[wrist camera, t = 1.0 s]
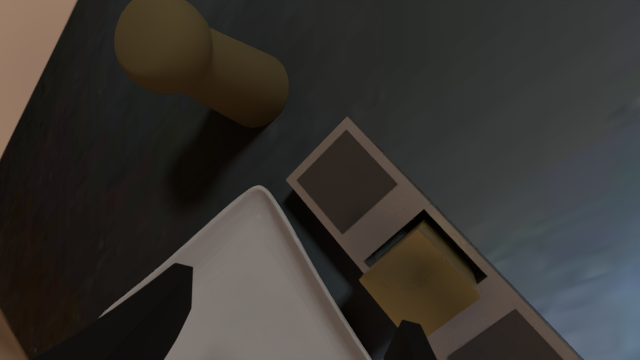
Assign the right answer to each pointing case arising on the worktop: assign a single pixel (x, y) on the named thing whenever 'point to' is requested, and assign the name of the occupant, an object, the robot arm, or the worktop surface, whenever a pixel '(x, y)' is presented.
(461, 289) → the yellow rectangular block
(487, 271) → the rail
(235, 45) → the cork
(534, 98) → the worktop surface
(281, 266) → the salad plate
